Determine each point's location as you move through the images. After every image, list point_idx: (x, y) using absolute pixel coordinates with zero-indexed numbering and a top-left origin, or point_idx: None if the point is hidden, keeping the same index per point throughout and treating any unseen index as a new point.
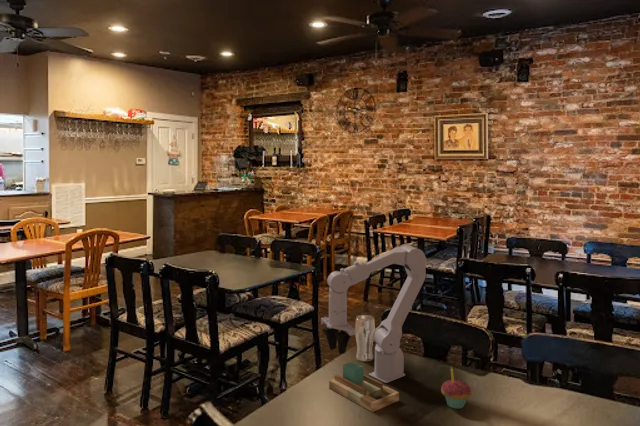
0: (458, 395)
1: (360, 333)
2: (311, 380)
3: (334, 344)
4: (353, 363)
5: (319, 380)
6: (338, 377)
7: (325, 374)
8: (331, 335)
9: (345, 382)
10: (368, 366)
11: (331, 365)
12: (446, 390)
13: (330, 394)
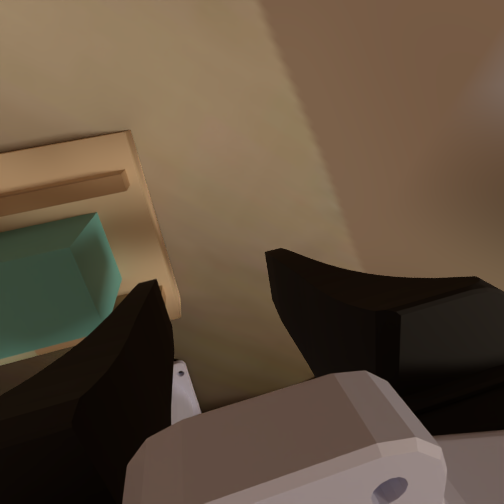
0: None
1: None
2: (264, 90)
3: (283, 307)
4: (70, 324)
5: (243, 132)
6: (77, 181)
7: (288, 195)
8: (327, 338)
9: (7, 195)
10: (260, 386)
11: (350, 263)
12: None
13: (50, 94)
